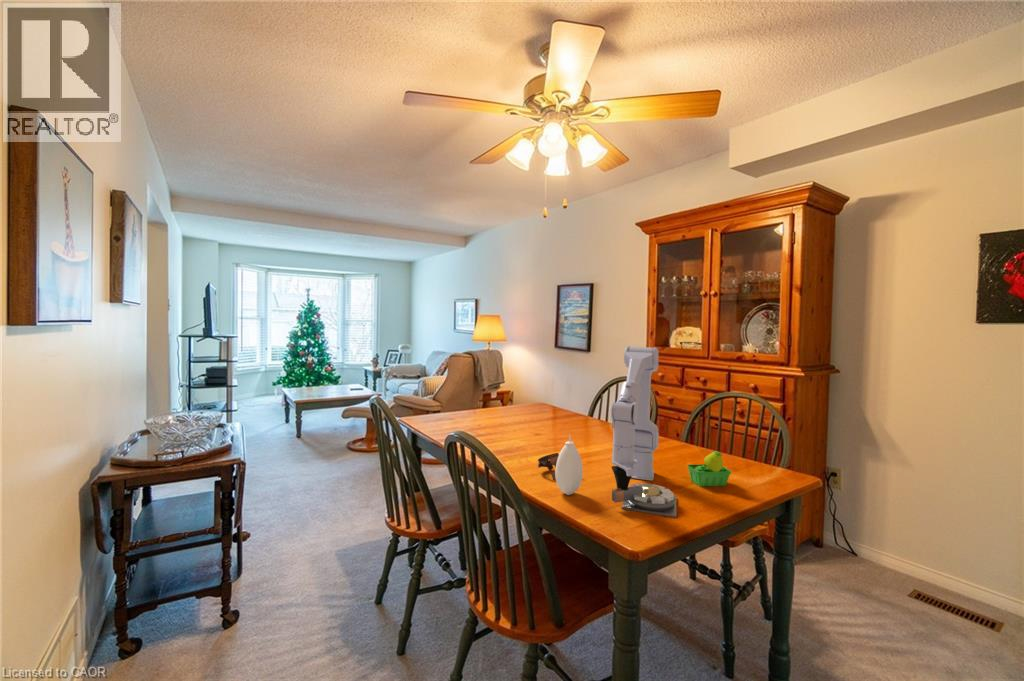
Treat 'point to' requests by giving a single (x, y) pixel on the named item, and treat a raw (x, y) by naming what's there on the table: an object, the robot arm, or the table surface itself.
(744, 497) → the table surface
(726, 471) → the fruit basket
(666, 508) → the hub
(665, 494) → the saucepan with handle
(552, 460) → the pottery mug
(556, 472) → the air blower bulb
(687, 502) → the table surface
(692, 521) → the table surface
